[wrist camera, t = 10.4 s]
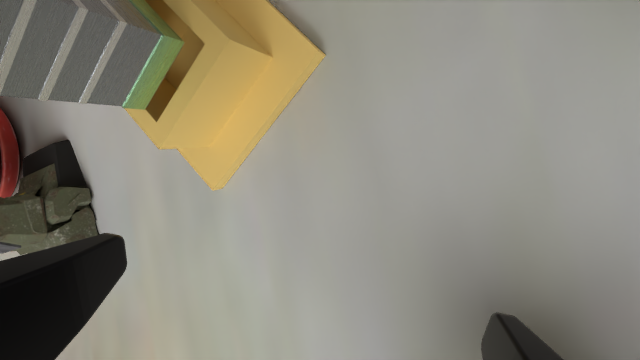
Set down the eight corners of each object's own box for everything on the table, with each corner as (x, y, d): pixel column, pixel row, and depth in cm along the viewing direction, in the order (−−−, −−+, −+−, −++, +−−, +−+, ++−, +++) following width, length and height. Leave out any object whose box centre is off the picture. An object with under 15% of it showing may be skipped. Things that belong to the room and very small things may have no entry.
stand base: (325, 55, 19) (281, 28, 14) (222, 188, 23) (160, 202, 18) (205, -59, 21) (132, -115, 17) (129, 81, 25) (51, 69, 20)
